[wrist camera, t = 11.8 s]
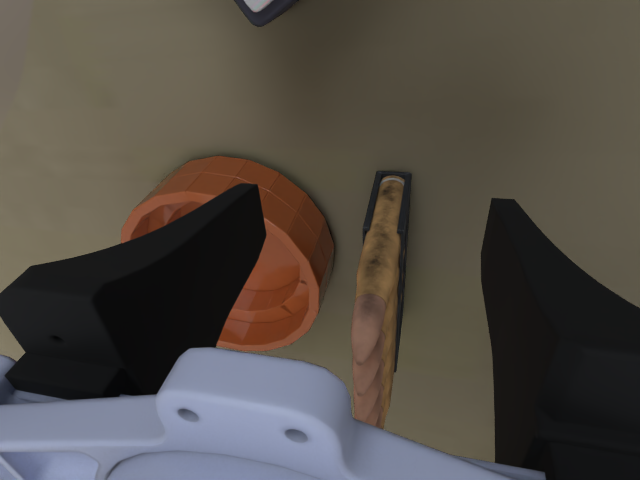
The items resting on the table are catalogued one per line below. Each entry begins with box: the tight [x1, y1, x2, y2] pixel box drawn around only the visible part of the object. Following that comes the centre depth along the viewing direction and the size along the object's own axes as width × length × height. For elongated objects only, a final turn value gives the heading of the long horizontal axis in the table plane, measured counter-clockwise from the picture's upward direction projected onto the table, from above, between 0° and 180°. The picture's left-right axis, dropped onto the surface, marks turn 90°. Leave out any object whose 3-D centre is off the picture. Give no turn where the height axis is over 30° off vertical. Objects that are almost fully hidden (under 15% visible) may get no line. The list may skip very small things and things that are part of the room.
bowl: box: [121, 156, 334, 351], centre depth 27 cm, size 12×12×4 cm
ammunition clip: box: [351, 171, 411, 429], centre depth 22 cm, size 11×2×12 cm, turn 4°
